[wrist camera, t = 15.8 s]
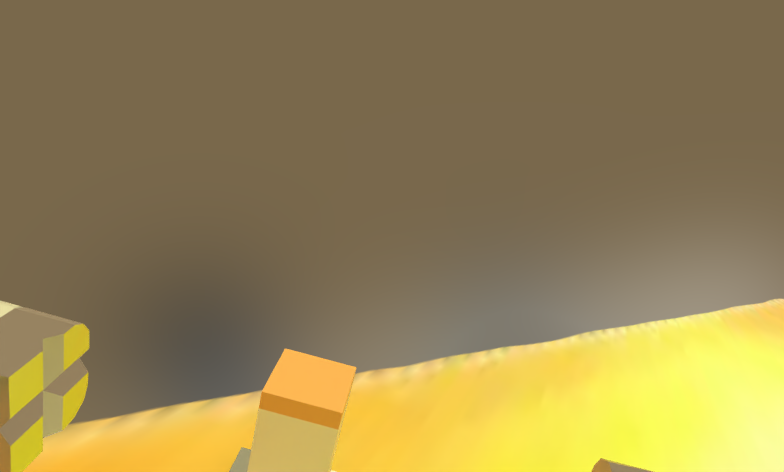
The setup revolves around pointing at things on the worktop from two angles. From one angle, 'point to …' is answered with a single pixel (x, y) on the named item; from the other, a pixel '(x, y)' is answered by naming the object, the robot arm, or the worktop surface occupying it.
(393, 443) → the worktop surface
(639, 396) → the worktop surface
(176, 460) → the worktop surface
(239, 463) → the board
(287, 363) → the orange-capped beige pillar
